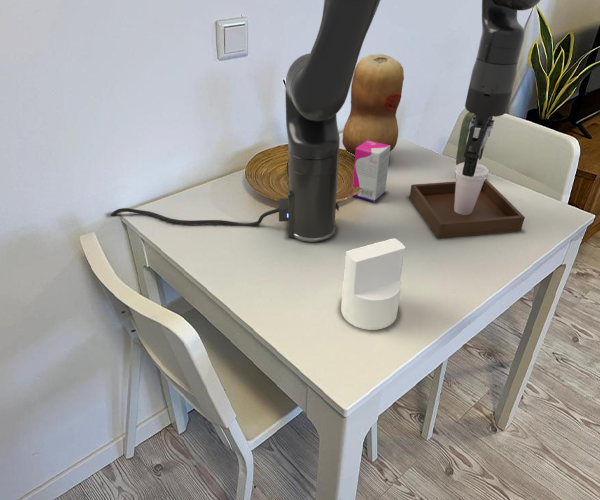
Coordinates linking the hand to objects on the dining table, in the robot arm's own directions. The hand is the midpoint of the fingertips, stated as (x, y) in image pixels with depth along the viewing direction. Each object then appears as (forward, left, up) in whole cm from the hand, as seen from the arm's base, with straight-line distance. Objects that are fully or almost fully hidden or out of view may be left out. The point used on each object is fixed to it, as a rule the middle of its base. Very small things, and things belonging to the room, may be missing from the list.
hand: (471, 166), depth 102 cm
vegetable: (+4, +17, -11) cm, 21 cm away
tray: (0, 0, -11) cm, 11 cm away
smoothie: (0, 0, -10) cm, 10 cm away
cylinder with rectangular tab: (-23, -31, -11) cm, 40 cm away
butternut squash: (-17, +27, -11) cm, 34 cm away
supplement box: (-19, +8, -11) cm, 23 cm away
